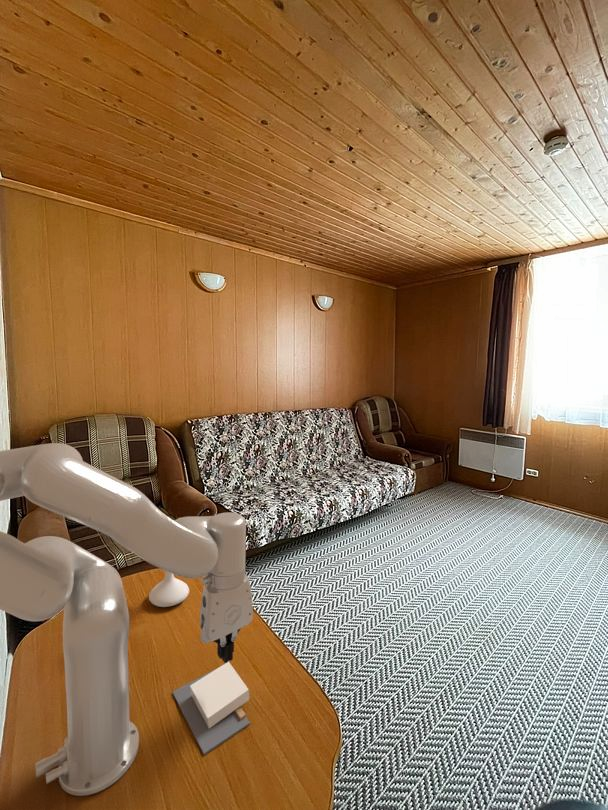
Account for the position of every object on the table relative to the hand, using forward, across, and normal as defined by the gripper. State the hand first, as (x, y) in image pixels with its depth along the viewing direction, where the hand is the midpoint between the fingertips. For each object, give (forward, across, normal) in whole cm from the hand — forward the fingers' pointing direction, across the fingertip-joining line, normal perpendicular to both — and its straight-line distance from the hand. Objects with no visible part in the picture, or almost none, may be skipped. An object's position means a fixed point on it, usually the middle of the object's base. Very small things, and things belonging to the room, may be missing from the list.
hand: (225, 657), depth 77 cm
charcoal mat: (+10, -4, 0) cm, 10 cm away
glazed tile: (+7, +3, 0) cm, 8 cm away
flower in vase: (+10, +3, +40) cm, 41 cm away
